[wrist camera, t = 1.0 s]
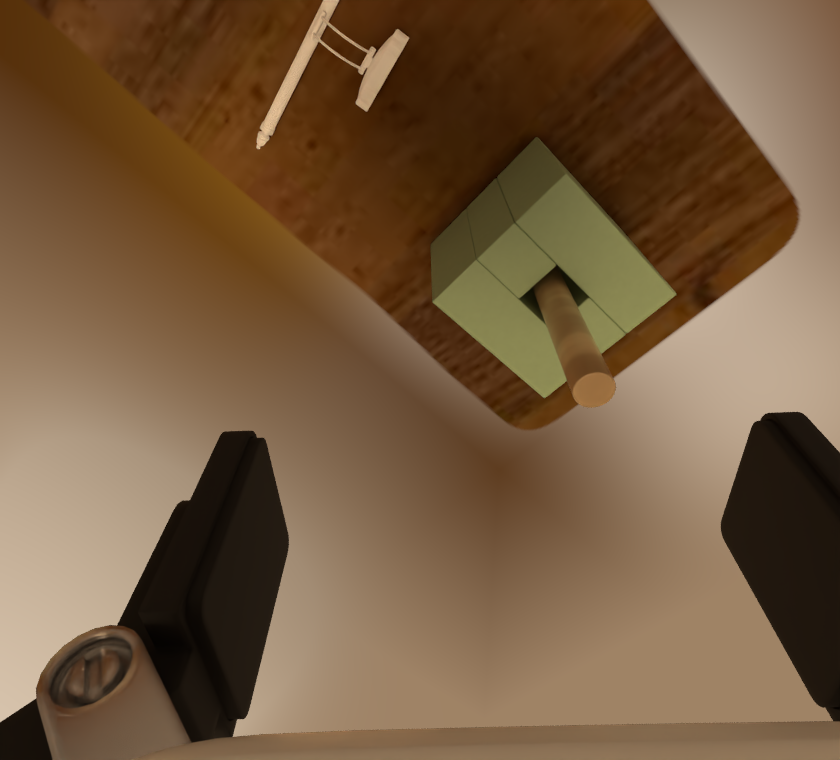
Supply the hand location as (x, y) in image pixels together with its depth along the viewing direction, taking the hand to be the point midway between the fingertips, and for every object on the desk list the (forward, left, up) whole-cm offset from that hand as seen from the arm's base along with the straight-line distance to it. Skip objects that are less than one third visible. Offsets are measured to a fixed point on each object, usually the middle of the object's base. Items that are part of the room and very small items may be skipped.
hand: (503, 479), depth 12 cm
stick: (0, +6, -26) cm, 26 cm away
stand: (0, +6, -26) cm, 26 cm away
